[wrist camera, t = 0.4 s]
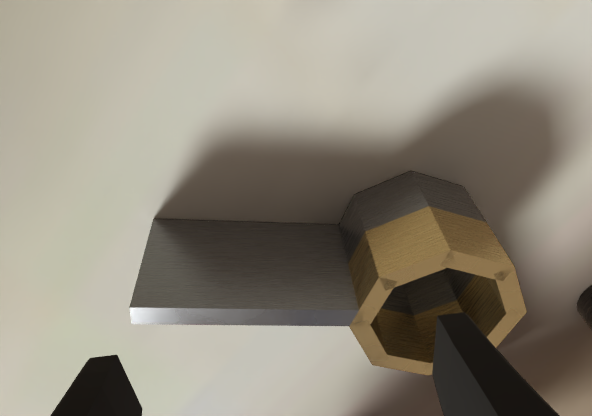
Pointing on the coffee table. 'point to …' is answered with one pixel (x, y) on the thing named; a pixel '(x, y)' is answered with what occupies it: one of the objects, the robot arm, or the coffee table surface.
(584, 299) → the pin
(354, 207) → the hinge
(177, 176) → the coffee table surface
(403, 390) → the coffee table surface
